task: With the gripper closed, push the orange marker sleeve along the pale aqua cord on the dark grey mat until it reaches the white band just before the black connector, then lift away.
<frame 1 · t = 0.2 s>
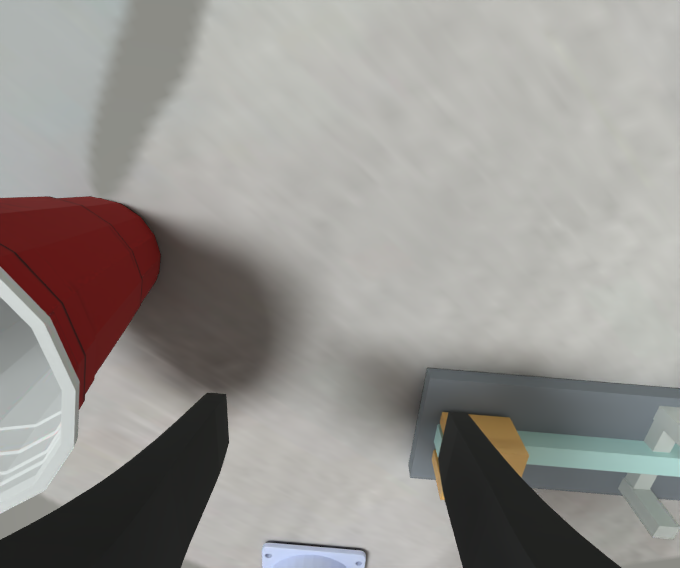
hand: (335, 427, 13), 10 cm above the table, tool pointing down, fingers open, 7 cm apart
sleeve: (475, 457, 22), point 3 cm above the table, slide at 0.0 cm
plastic cup: (115, 247, 21), on the table
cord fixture: (573, 432, 25), on the table
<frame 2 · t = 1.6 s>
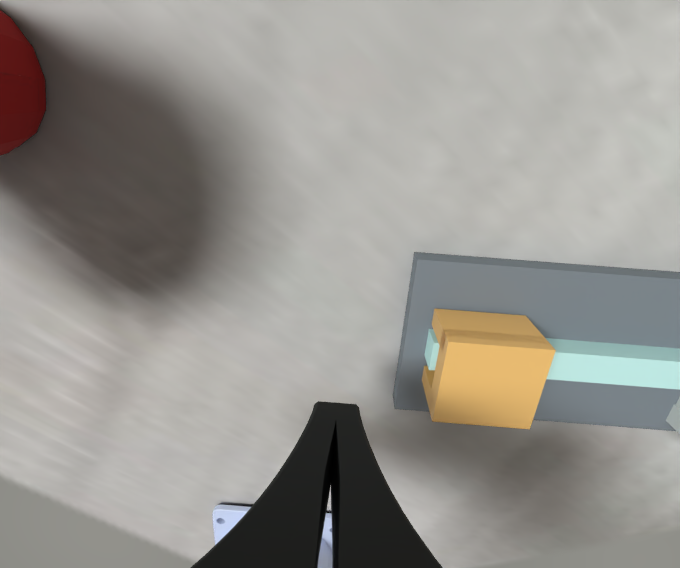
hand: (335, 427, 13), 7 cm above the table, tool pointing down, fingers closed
sleeve: (480, 366, 17), point 3 cm above the table, slide at 0.0 cm
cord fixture: (607, 345, 19), on the table
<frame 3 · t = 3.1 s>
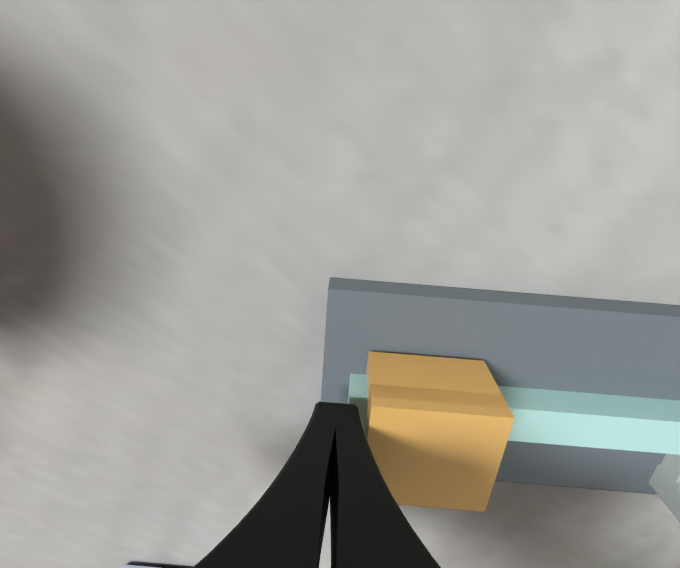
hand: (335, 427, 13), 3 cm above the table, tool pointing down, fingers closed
sleeve: (424, 428, 13), point 3 cm above the table, slide at 0.5 cm, touching gripper
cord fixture: (577, 391, 15), on the table
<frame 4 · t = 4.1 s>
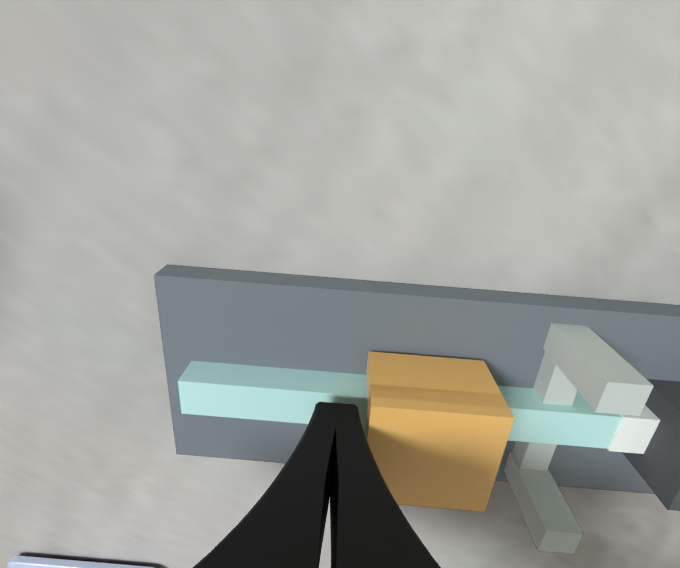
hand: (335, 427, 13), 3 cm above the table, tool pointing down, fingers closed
sleeve: (424, 428, 13), point 3 cm above the table, slide at 6.4 cm, touching gripper
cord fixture: (429, 379, 15), on the table
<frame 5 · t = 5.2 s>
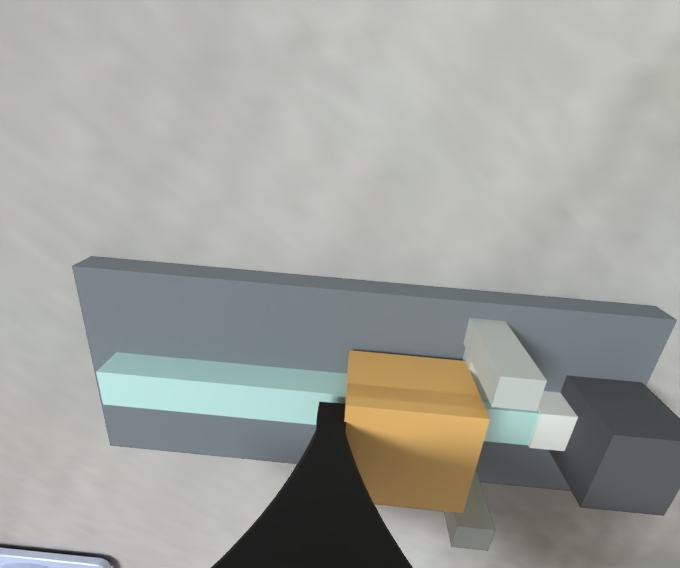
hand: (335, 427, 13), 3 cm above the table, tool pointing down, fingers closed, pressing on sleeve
sleeve: (403, 428, 13), point 3 cm above the table, slide at 8.5 cm, touching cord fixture, gripper
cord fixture: (358, 374, 15), on the table
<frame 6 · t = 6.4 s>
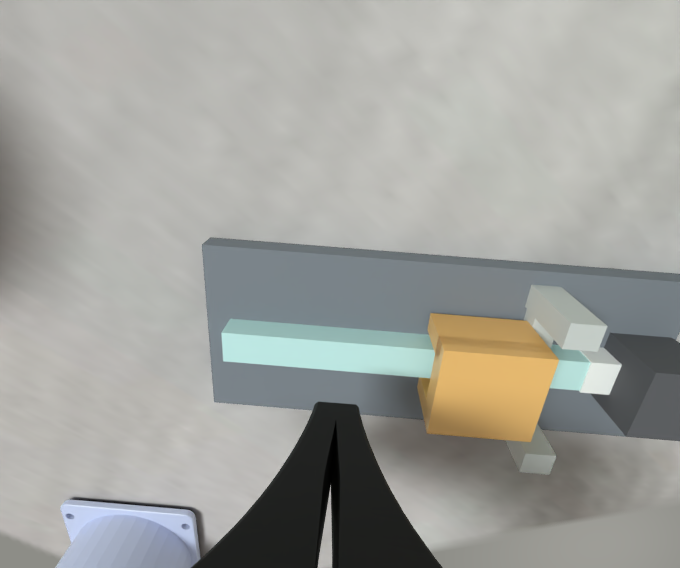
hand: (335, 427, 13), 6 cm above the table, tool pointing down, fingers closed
sleeve: (478, 375, 16), point 3 cm above the table, slide at 8.5 cm, touching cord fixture
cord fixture: (429, 337, 18), on the table
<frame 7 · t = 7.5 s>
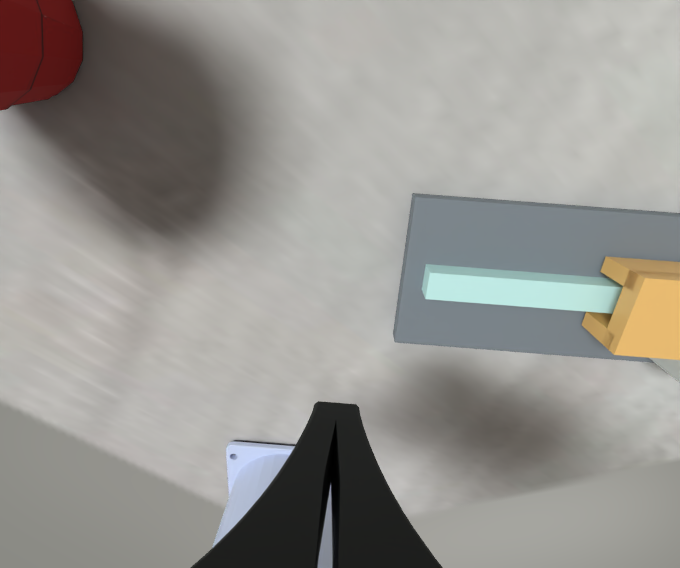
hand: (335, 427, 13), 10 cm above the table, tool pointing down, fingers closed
sleeve: (652, 307, 18), point 3 cm above the table, slide at 8.5 cm, touching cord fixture
plastic cup: (27, 26, 17), on the table
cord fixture: (588, 282, 21), on the table
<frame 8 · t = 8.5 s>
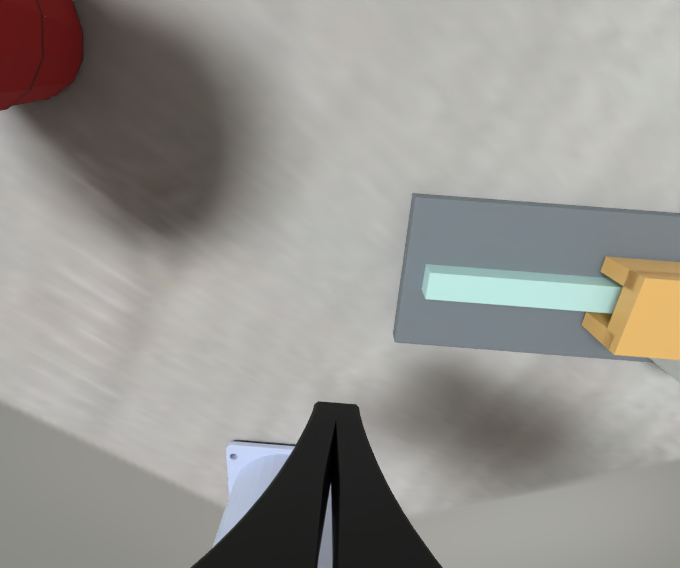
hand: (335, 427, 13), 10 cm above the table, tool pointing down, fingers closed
sleeve: (652, 307, 18), point 3 cm above the table, slide at 8.5 cm, touching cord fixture
plastic cup: (27, 26, 17), on the table
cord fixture: (588, 282, 21), on the table
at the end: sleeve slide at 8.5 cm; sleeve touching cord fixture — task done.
